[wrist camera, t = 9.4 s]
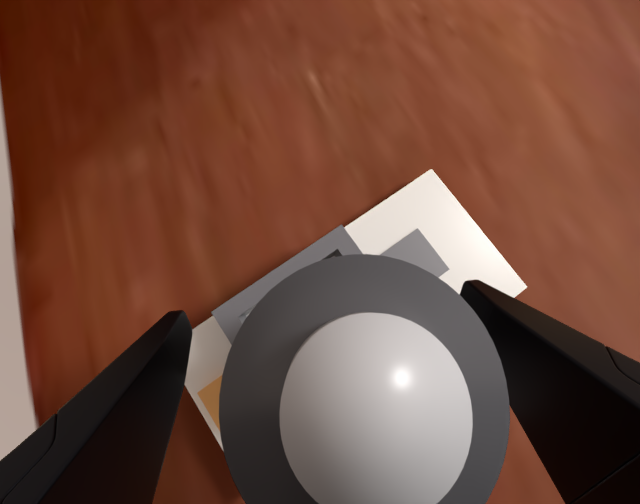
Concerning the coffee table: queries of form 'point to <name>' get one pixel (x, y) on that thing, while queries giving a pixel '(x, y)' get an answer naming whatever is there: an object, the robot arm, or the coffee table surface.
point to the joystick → (363, 391)
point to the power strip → (361, 238)
